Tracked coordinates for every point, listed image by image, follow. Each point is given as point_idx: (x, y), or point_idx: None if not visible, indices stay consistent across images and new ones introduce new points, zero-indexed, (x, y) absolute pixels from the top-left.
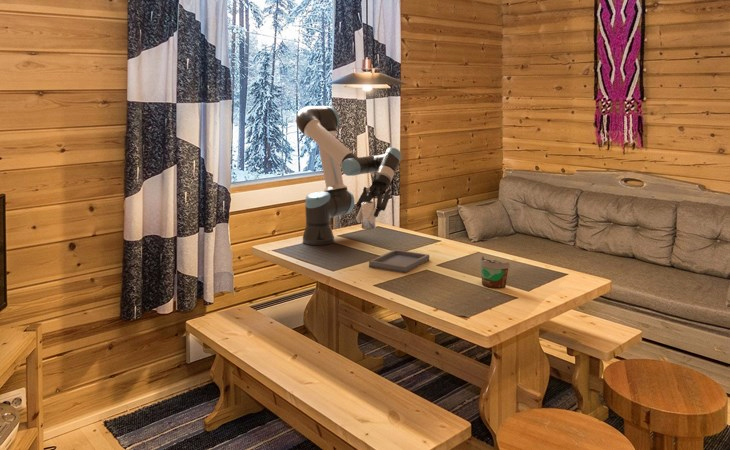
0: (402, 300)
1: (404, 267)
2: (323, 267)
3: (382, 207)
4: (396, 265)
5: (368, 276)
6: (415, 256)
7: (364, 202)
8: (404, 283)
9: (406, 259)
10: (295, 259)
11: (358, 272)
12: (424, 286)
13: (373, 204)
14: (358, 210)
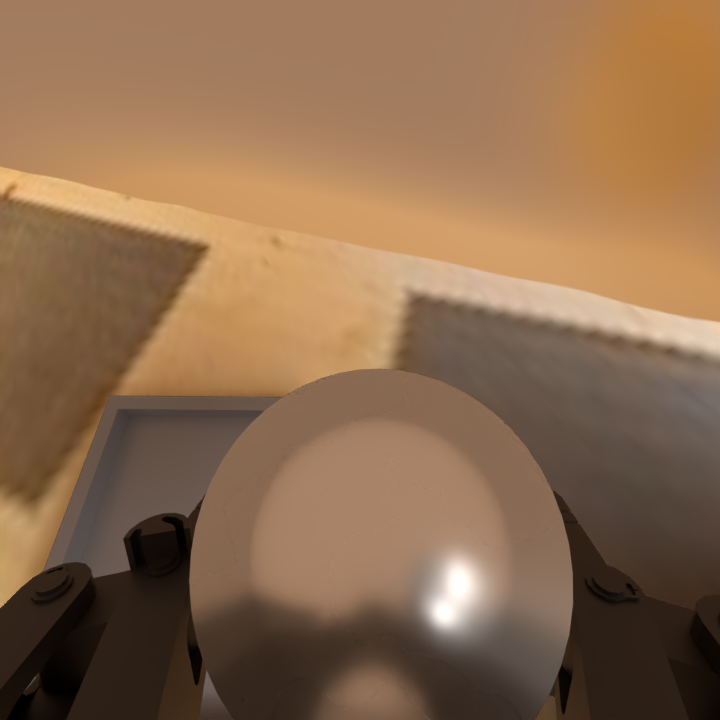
0: (97, 198)
1: (114, 396)
2: (478, 310)
3: (55, 576)
4: (154, 400)
5: (257, 305)
6: None
7: (475, 510)
8: (111, 304)
9: None
10: (682, 340)
11: (313, 325)
12: (40, 311)
13: (216, 494)
14: (564, 519)
